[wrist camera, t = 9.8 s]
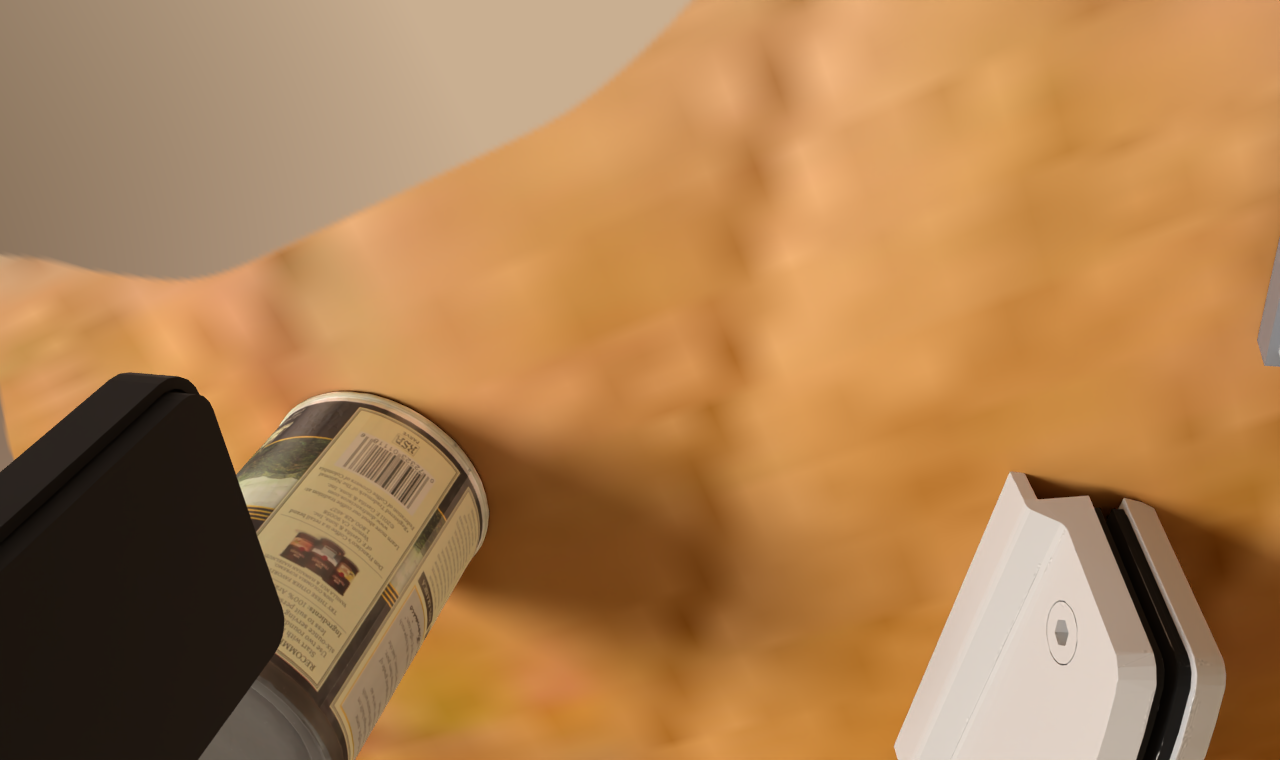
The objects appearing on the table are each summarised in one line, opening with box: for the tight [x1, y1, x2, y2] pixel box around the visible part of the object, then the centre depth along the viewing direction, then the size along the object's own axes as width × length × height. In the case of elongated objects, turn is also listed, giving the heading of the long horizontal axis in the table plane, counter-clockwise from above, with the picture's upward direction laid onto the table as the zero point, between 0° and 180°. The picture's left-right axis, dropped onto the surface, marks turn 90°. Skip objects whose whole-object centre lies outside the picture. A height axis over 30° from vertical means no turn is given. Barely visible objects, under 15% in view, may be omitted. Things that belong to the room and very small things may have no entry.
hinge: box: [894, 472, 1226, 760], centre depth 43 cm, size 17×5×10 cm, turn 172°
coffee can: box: [198, 391, 489, 760], centre depth 46 cm, size 10×10×14 cm
